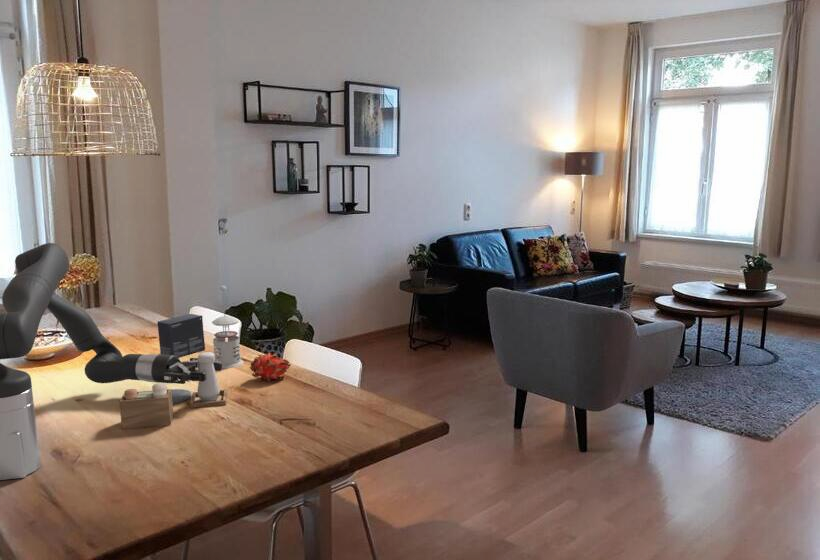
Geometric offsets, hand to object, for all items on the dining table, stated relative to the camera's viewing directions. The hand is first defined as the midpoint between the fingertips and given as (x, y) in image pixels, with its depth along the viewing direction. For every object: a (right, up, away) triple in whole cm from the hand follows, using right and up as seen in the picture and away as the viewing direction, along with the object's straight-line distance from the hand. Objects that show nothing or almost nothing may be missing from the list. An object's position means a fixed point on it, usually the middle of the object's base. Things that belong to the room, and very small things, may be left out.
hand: (213, 371), depth 173 cm
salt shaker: (-2, -8, +2) cm, 8 cm away
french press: (-6, -2, +34) cm, 35 cm away
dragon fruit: (+11, -5, +19) cm, 23 cm away
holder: (-2, -8, +2) cm, 8 cm away
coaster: (-12, -8, +4) cm, 15 cm away
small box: (-24, 0, +45) cm, 51 cm away
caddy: (-12, -11, -13) cm, 21 cm away
